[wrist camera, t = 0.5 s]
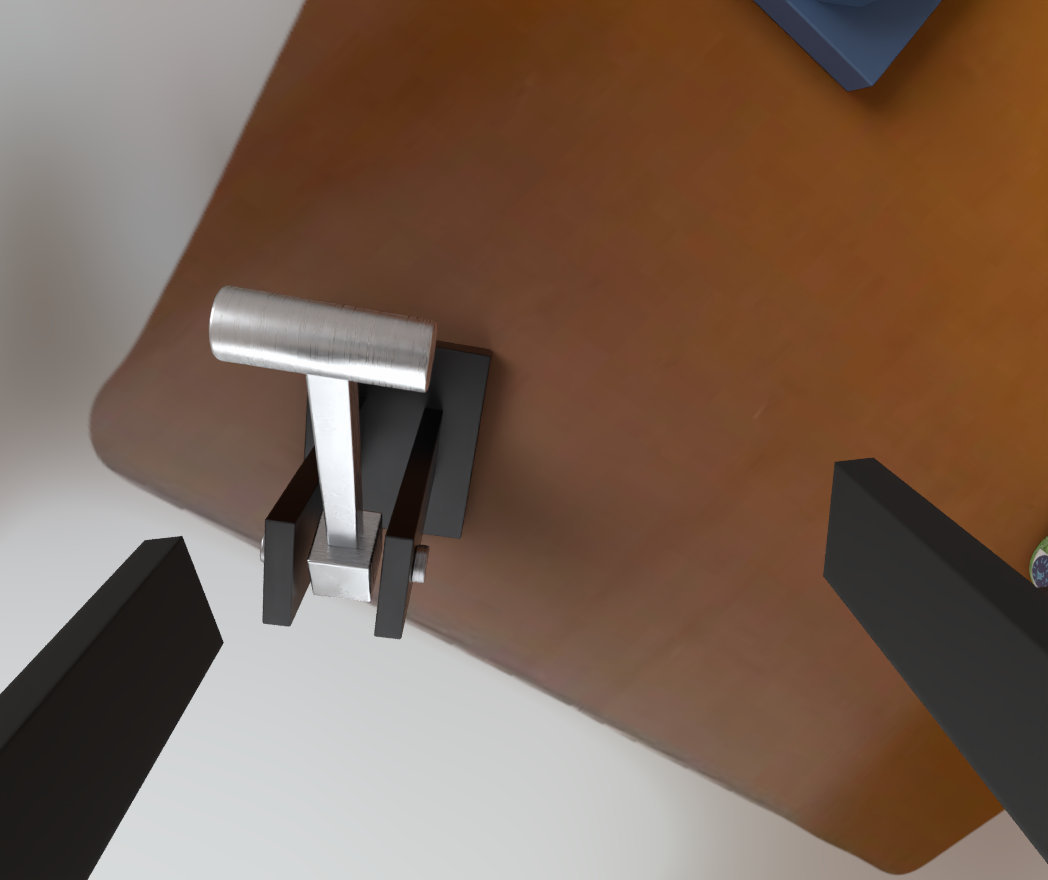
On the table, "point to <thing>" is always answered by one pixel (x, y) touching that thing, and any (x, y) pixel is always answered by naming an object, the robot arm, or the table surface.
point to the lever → (330, 404)
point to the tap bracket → (388, 484)
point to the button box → (851, 33)
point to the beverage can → (1040, 564)
